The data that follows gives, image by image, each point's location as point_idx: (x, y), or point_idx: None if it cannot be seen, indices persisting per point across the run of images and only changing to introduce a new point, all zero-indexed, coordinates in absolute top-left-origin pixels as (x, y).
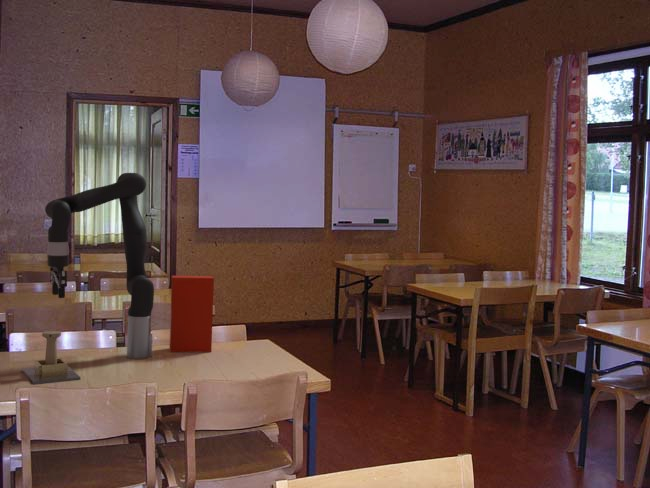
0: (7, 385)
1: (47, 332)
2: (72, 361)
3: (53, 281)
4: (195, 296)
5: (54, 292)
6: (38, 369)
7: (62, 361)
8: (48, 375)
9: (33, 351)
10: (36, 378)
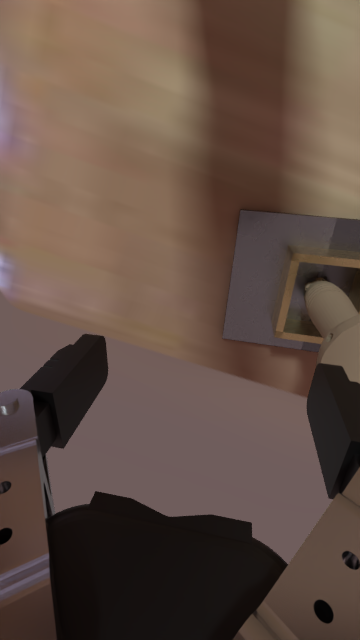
0: None
1: (350, 373)
2: (181, 164)
3: (51, 494)
4: None
5: (99, 377)
6: None
7: (338, 265)
8: None
9: (12, 237)
10: None
